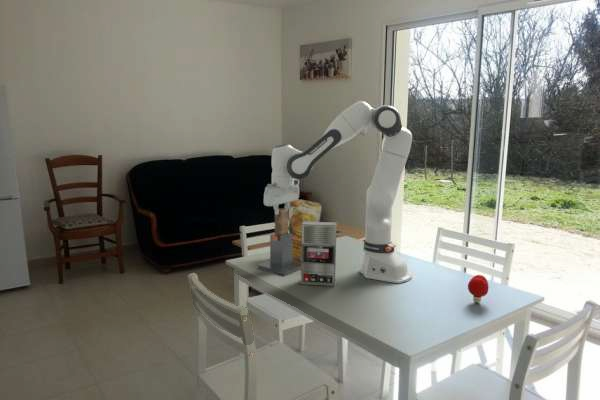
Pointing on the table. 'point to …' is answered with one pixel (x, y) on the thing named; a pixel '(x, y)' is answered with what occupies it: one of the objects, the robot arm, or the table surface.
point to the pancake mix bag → (301, 221)
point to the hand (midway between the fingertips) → (281, 213)
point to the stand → (280, 256)
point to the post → (281, 223)
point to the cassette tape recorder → (318, 253)
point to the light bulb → (478, 287)
